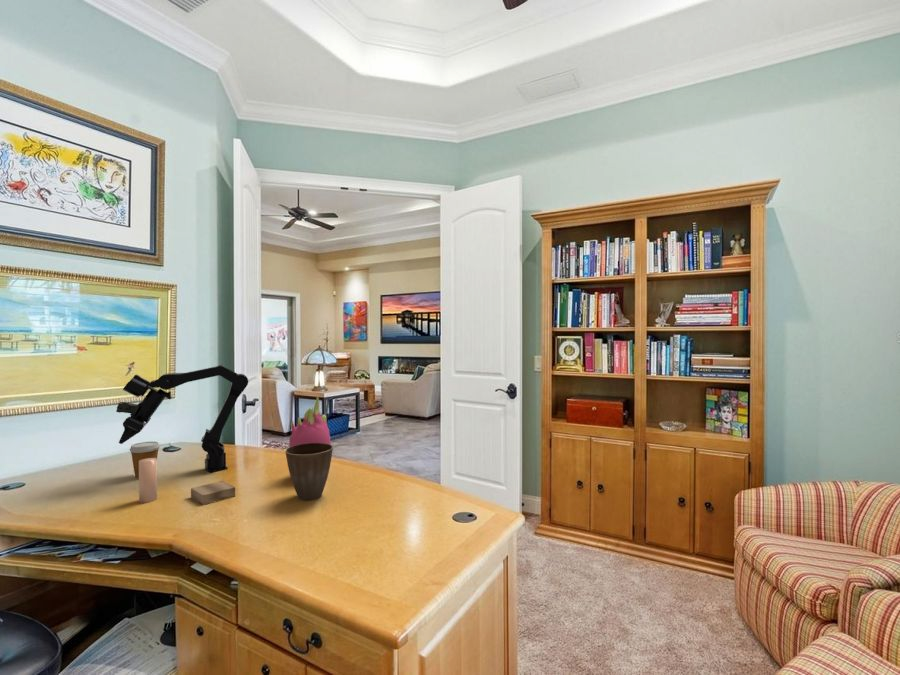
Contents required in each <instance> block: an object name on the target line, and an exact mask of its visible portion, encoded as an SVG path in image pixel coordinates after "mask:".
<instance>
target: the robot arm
mask: <svg viewBox="0 0 900 675" xmlns="http://www.w3.org/2000/svg"><path fill="white" fill-rule="evenodd" d="M218 376H220V377H222V379H225V380H227V381H228V382H231V383H230V384H231V385H230V387H229V391H228V394H227V397H226V399H225V400H224V402H223V405H222V406H221V409H220V411H219V413H218V415H217V417H216V419H215V421H214V423H213V425H212V427H211V428H210V429H207V428H205V433H204V435H203V436H202V437H201V441H200V442H201V448H202V450H203V451H204V452H206V453H207V454H205V455H206V456H205V459H204V470H205V471H206V472H209V473H213V472H218V471H219V472H220V471H223V470H228V468H229V467H227V458H226V456H227V454H226V451H225V445H224V444H223V443H222V442H220V441H221V437H222V433H223V430H224V427H225V425H226V424H227V421H228V419H229V417H230V414H231V413H232V411H233V408H234V406H235V404H236V403H237V401H238V398H239V397H240V396H241V395H242V393H243V392H244V390H245V389H246V388H247V387H248V384H249V378H248V377H247V376H246V374H244V373H237V372H235V371H233V370H231V369H229V368H228V367H226V366H225V365H223V364H220V365H217V366H212V367H208V368H206V367H205V368H202V369H197V370H193V371H192V370H191V371H186V372H172V373H171V372H169V373H164V374H162V375H160V376H159V377H158V379H155V380H154V379H153V380H151V381H149V380H148V379H145V378H143V377H142V376H140V375H138V374H134V376H132V378H131V379H130V380H129V381H127V383H126V384H125V386H124V387H123V389H122V390H123V391H124V392H126V393H128V394H130V395H132V396H134V397H137V398H140V397H144V398H143V399H142V400H141V401H140V402H139V403H133V402H131V403H130V402H125V401H120V402H118V404H117V406H116V411H115V412H116V413H125V414H129V416H127V417H126V419H124V421H122V426H123V429H124V430H123V432H122V434H121V437H120V439H119V441H118V443H119V444H120V445H123V444H124V443H125V442H127V441H129V440H130V439H132V437H133V438H134V436H136V435H137V434H139V433H140V432H142V430H143V429H144V428H145V426H146V425H148V423H149V422H150V421H151V419H152V417H153V415H154V414H155V412H156V411H157V410H158V408H159V407H160V406H161V404H162V403H163V401H164V400H165V399H168V400H171V399H172V398H173V396H172V392H171V391H166V390H171V389H173V388H176V387H179V386H181V385H184V384H186V383H190V382H191V383H192V382H195V381H198V380H199V381H200V380H204V379H208V378H213V377H218ZM157 388H159V389H157ZM147 392H148V393H147ZM146 393H147V394H146Z"/></svg>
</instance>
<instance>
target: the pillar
mask: <svg viewBox="0 0 900 675" xmlns="http://www.w3.org/2000/svg"><path fill="white" fill-rule="evenodd" d="M157 462H158V458H157V459H156V458H147V459H142V460H139V478H138V501H139V503H141V504H145V503H146V504H147V503H151V502H154V501H157V500H158V487H157V486H158V477H157V476H158V475H157V473H158V470H157V467H158V466H157V465H158V464H157Z"/></svg>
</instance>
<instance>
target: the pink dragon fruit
mask: <svg viewBox="0 0 900 675" xmlns="http://www.w3.org/2000/svg"><path fill="white" fill-rule="evenodd" d="M290 424H291V425H290V428H291V435H289V446H288V448H289V447H292V446H295V445H299V444H306V443H326V444H330V445H332V442H331V435H330V429H329V427H328V422H327V416H326V415H325V414H321V411H320V399H319V396H316V400H315V403H314V406H313V407H311V408H308V409H307V410H306V411H305V412H304V415H303V420H302V419H301V417H297V425H296V426H295V423H294V420H292V421H291V423H290Z"/></svg>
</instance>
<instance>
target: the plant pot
mask: <svg viewBox="0 0 900 675" xmlns="http://www.w3.org/2000/svg"><path fill="white" fill-rule="evenodd" d="M333 450H334V446H333V445H332V444H331V445H330V444H326V443H306V444H299V445H295V446H292V447H289V446H288V447H287V448H286V449H285V456H286V462H287V468H288V472H289V476H290V479H291V482H292V485H293V488H294V491H295V493H296V495H297V498H298V499H299V500H301V501H313V500H317V499H319V498H321V497H322V495H323V492H324V489H325V486H326V484H327V481H328V477H329V473H330V472H329V471H330V467H331V463H332V457H333Z"/></svg>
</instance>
